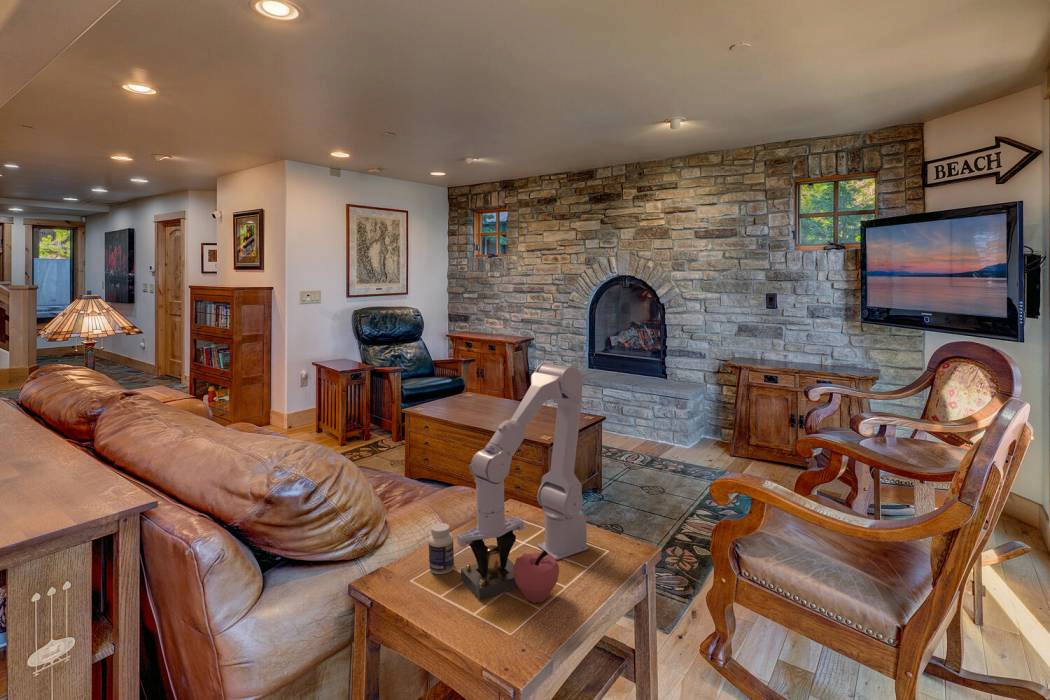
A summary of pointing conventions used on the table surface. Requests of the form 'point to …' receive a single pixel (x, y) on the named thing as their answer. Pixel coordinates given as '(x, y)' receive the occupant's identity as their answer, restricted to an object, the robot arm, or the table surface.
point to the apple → (536, 575)
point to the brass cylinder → (493, 563)
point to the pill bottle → (441, 549)
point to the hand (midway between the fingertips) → (492, 569)
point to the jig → (491, 587)
